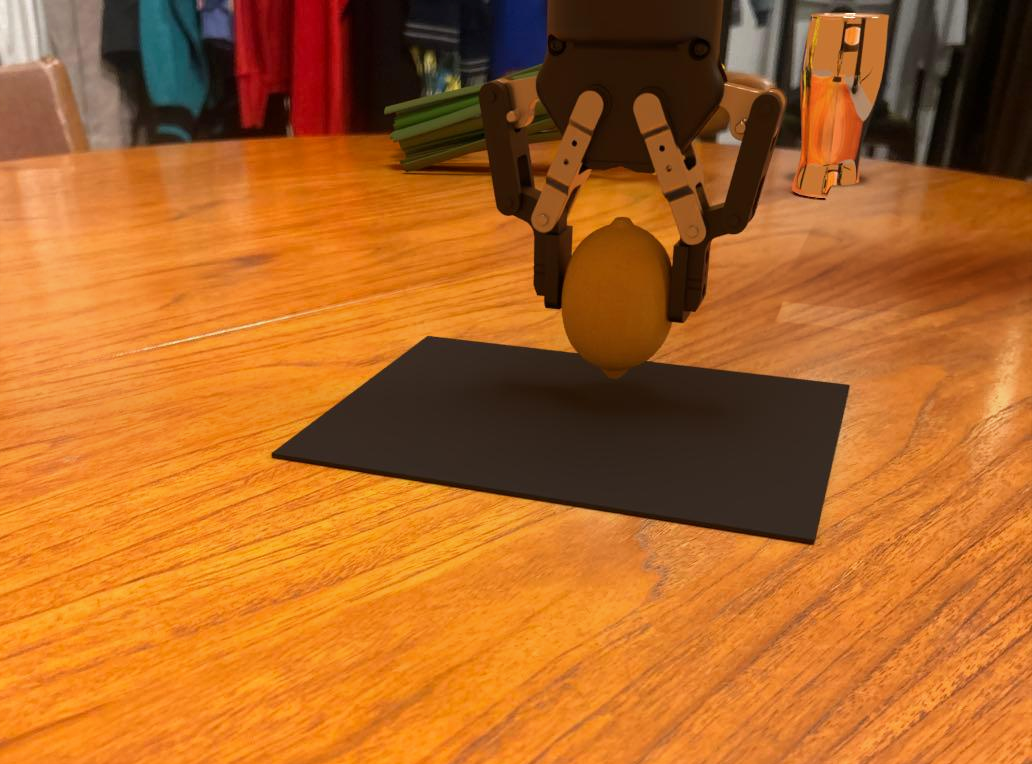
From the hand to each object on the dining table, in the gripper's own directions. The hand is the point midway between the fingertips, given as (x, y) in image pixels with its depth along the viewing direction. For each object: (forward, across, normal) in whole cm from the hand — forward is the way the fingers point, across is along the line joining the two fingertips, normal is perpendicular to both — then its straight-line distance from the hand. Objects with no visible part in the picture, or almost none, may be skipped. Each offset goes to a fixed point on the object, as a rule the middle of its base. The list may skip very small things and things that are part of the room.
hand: (618, 310), depth 53 cm
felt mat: (+5, -1, -3) cm, 6 cm away
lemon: (+4, 0, 0) cm, 4 cm away
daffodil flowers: (+5, -23, +59) cm, 63 cm away
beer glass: (+5, +5, +58) cm, 58 cm away
